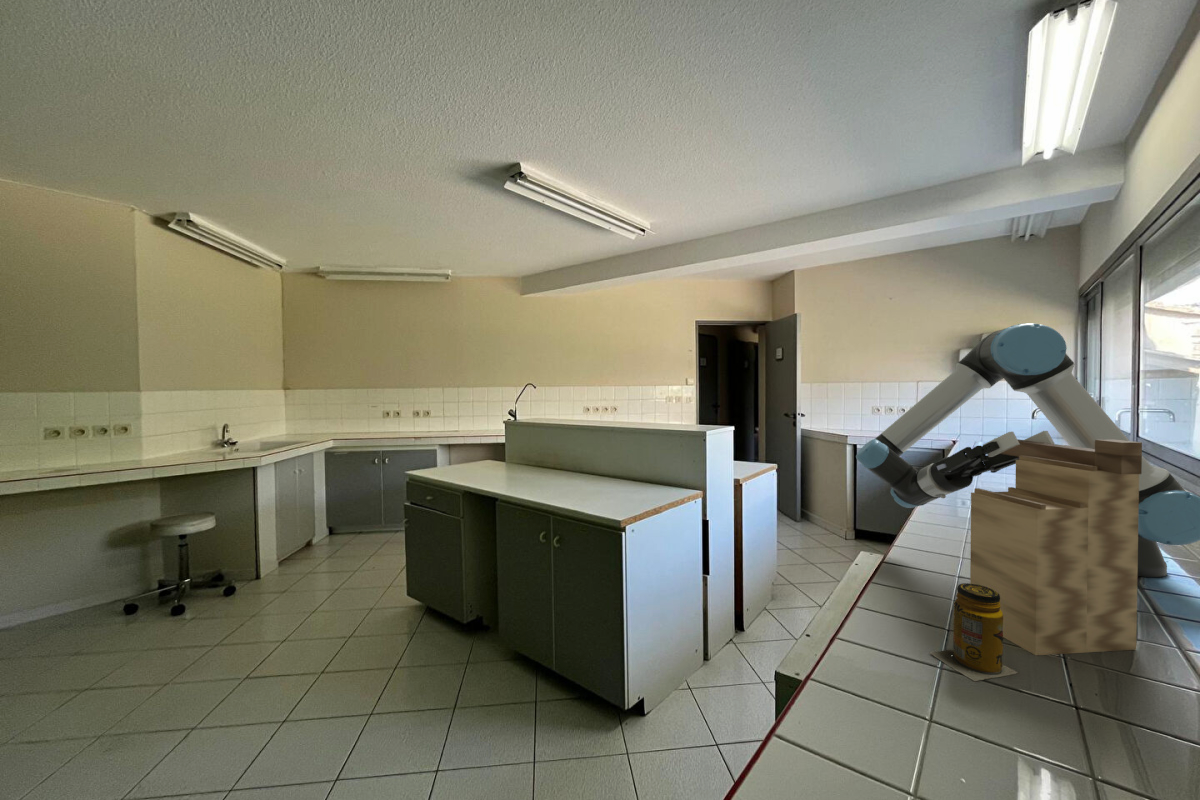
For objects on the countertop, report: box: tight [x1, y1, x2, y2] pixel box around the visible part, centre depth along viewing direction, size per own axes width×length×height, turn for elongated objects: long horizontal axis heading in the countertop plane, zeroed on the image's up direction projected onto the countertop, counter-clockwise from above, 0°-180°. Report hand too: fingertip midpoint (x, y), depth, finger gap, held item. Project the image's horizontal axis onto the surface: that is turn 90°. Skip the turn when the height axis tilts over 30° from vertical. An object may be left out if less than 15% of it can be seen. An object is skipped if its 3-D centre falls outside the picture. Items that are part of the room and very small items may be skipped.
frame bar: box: [993, 437, 1143, 474], centre depth 82 cm, size 3×24×5 cm, turn 178°
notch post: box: [969, 456, 1139, 656], centre depth 80 cm, size 18×12×31 cm, turn 94°
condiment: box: [928, 582, 1019, 682], centre depth 71 cm, size 7×8×12 cm
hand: (1031, 437), depth 87 cm, fingers open, 6 cm apart
